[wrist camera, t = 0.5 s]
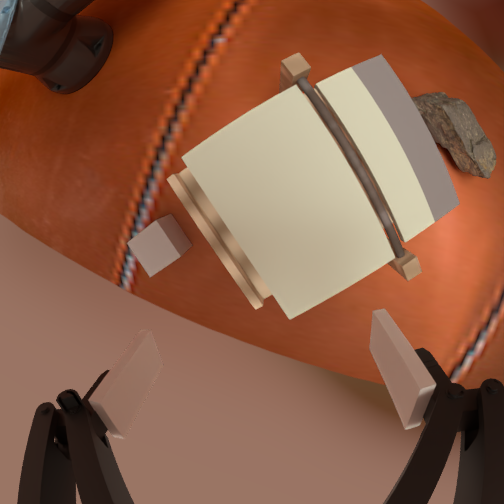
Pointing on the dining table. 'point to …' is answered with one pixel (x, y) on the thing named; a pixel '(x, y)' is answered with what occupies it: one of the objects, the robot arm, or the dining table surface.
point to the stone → (159, 244)
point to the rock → (457, 132)
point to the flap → (323, 183)
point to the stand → (222, 238)
